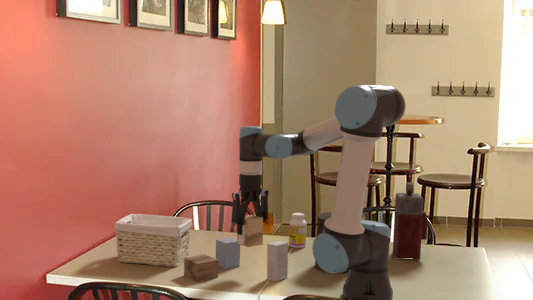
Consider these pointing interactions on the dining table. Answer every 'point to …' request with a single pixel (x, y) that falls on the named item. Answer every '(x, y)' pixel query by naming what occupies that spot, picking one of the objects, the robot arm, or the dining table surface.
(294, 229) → the supplement bottle
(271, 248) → the skincare box
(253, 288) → the dining table surface
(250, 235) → the oak block
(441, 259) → the dining table surface
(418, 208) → the red square decanter
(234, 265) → the blue block
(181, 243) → the storage basket
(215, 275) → the base block
